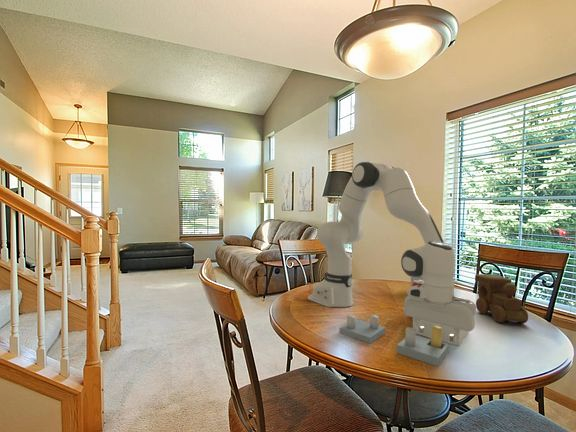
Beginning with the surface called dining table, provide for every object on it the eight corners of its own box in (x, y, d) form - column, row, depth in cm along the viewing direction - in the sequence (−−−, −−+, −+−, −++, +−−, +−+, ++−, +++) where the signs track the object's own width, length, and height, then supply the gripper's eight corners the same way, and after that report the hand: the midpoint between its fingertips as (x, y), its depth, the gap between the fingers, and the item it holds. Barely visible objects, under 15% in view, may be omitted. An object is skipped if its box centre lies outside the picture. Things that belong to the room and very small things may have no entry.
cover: (412, 332, 110) (413, 303, 109) (425, 321, 121) (426, 294, 121) (459, 346, 100) (460, 313, 99) (468, 332, 111) (469, 303, 111)
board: (339, 332, 108) (339, 316, 108) (355, 323, 117) (356, 308, 117) (370, 343, 100) (370, 325, 100) (385, 332, 109) (385, 316, 109)
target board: (396, 352, 94) (397, 329, 94) (410, 340, 103) (411, 319, 103) (437, 366, 86) (438, 341, 86) (448, 352, 95) (449, 328, 95)
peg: (429, 352, 95) (430, 327, 94) (432, 349, 97) (433, 324, 97) (439, 355, 93) (440, 330, 92) (442, 352, 95) (443, 327, 95)
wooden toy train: (471, 309, 138) (473, 273, 137) (496, 310, 138) (497, 274, 137) (503, 326, 118) (504, 285, 117) (531, 327, 118) (533, 285, 117)
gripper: (478, 298, 90) (476, 343, 90) (409, 285, 103) (407, 324, 104) (474, 303, 85) (472, 350, 85) (402, 288, 99) (400, 330, 99)
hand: (436, 336), depth 95 cm, fingers open, 8 cm apart
